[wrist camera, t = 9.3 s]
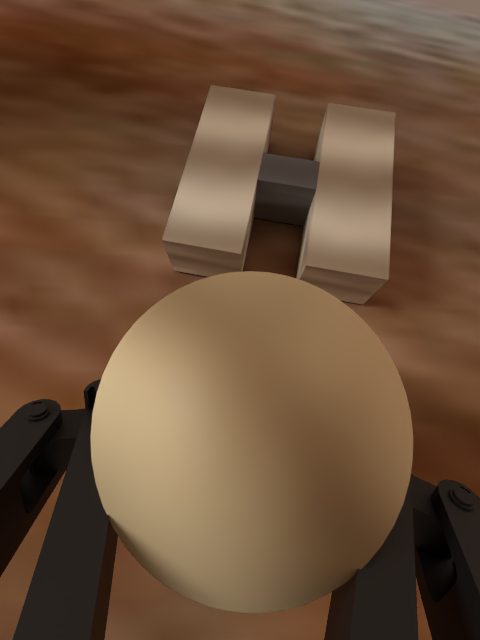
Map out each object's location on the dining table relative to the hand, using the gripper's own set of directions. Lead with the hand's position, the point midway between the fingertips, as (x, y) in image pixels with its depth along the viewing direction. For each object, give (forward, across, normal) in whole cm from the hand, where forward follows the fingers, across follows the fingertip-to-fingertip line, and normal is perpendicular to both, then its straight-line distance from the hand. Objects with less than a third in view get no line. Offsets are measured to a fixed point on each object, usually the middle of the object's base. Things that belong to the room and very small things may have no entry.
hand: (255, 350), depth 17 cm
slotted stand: (+12, 0, +6) cm, 14 cm away
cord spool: (0, 0, -5) cm, 5 cm away
